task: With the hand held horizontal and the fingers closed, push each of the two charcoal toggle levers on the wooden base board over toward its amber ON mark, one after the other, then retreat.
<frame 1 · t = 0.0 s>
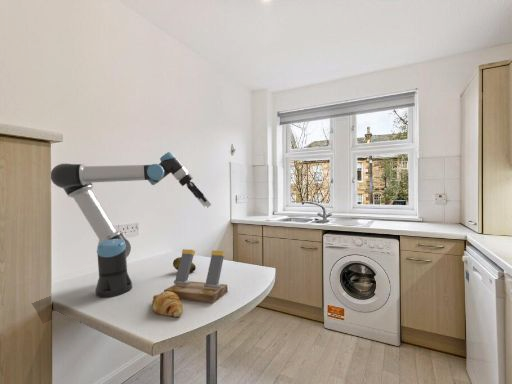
hand: (207, 205, 151), 36 cm above the table, tool tilted 35°, fingers open, 13 cm apart
wooden base board: (196, 294, 113), on the table
lever 1: (184, 266, 119), point 10 cm above the table, hinge at -30.0°
lever 2: (215, 268, 113), point 10 cm above the table, hinge at -30.0°
croissant: (166, 311, 100), on the table
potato: (184, 272, 146), on the table
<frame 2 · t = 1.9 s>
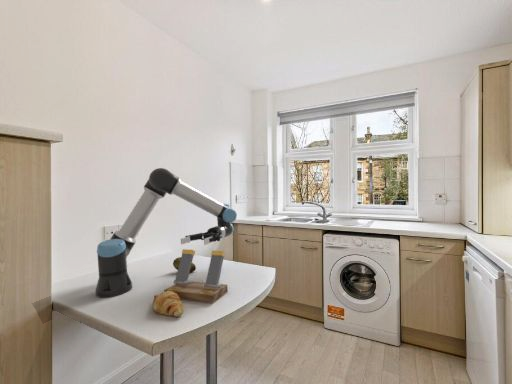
hand: (192, 241, 126), 20 cm above the table, tool horizontal, fingers open, 13 cm apart
nothing on the table moved.
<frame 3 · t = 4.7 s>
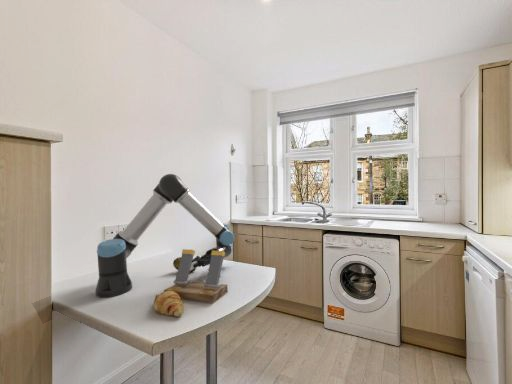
hand: (187, 268, 120), 9 cm above the table, tool horizontal, fingers closed
lever 1: (184, 266, 119), point 10 cm above the table, hinge at -29.8°, touching gripper
everything else where it was.
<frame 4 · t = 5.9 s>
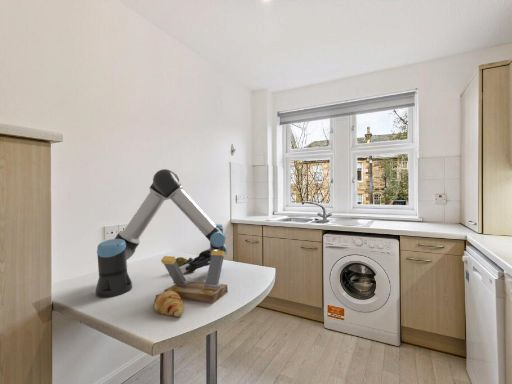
hand: (179, 271, 115), 10 cm above the table, tool horizontal, fingers closed
lever 1: (174, 271, 113), point 10 cm above the table, hinge at 30.0°, touching gripper
everything else where it was.
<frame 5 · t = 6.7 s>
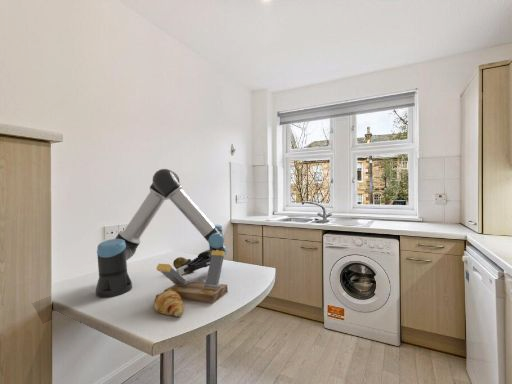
hand: (177, 272, 114), 9 cm above the table, tool horizontal, fingers closed
lever 1: (172, 275, 111), point 9 cm above the table, hinge at 45.8°, touching gripper
everything else where it was.
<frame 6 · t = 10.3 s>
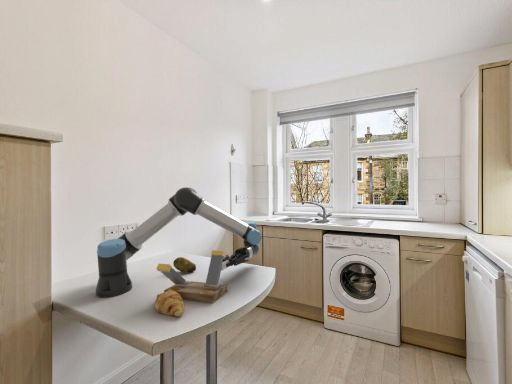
hand: (221, 267, 118), 10 cm above the table, tool horizontal, fingers closed
lever 1: (172, 275, 111), point 9 cm above the table, hinge at 45.9°
everything else where it was.
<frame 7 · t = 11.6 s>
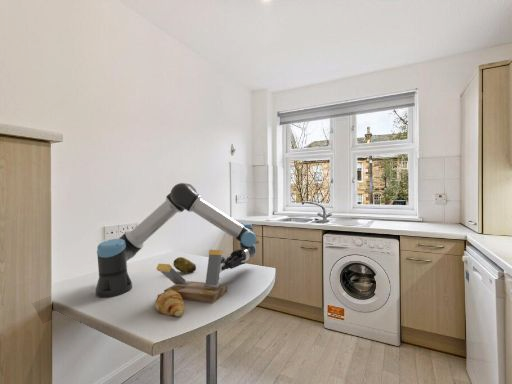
hand: (216, 270, 113), 10 cm above the table, tool horizontal, fingers closed
lever 2: (213, 268, 112), point 11 cm above the table, hinge at -20.4°, touching gripper
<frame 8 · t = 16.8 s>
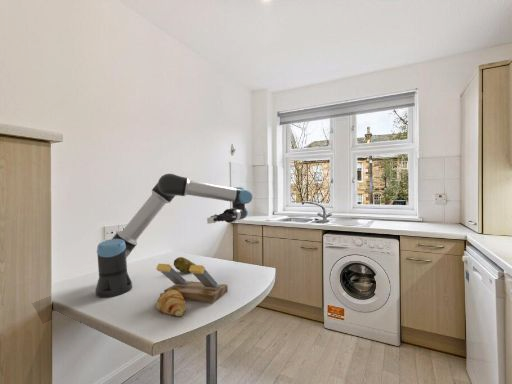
hand: (208, 220, 126), 30 cm above the table, tool horizontal, fingers closed
lever 2: (204, 277, 105), point 9 cm above the table, hinge at 44.3°
at the end: lever 1 at +46° (first picture: -30°); lever 2 at +44° (first picture: -30°) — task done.
